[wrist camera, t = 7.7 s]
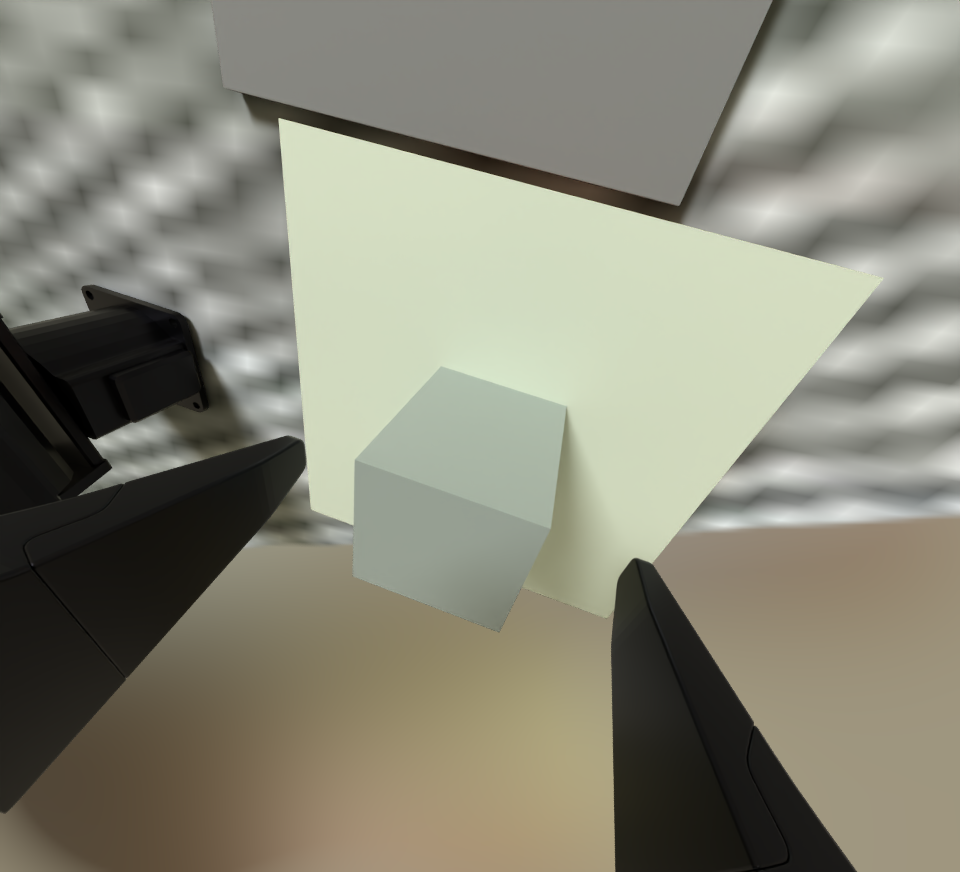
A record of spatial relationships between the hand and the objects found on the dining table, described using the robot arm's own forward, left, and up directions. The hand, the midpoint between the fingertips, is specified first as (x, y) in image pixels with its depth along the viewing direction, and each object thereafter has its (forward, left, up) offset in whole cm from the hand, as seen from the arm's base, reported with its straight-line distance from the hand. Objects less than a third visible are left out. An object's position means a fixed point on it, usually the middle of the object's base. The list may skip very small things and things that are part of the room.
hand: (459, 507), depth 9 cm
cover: (0, 0, -4) cm, 4 cm away
